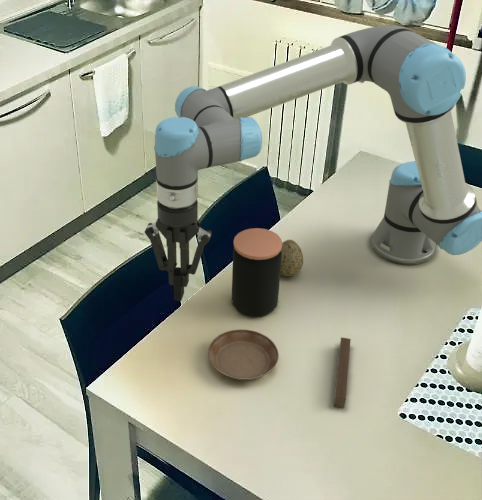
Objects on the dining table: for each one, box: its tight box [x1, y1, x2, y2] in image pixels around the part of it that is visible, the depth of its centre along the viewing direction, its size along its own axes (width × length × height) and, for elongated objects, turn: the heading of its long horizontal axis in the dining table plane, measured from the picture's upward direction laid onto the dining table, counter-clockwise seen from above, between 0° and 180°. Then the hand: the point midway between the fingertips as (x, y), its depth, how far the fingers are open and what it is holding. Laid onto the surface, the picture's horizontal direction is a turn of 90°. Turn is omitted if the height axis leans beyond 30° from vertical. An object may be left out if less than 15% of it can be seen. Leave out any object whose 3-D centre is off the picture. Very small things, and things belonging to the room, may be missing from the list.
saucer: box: [207, 329, 279, 381], centre depth 153 cm, size 15×15×3 cm
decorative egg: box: [280, 239, 305, 277], centre depth 174 cm, size 7×7×10 cm
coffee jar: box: [231, 227, 283, 318], centre depth 163 cm, size 11×11×18 cm
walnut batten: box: [333, 336, 352, 409], centre depth 148 cm, size 2×17×3 cm, turn 164°
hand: (179, 296), depth 148 cm, fingers closed
